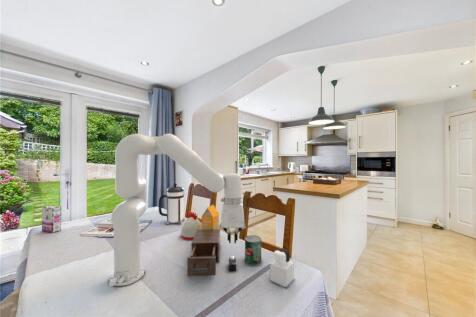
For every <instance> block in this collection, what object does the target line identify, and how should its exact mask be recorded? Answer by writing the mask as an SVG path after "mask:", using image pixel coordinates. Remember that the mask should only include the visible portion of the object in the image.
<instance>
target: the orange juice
mask: <svg viewBox="0 0 476 317" xmlns="http://www.w3.org/2000/svg"><path fill="white" fill-rule="evenodd" d="M219 215H220V214H219V211H218V210H217V208H216V207H215V205H214V204H211V205H210V206H208V207H207V208H206V209H205V210H204V213H203V214H202V215H201V223H202V227H201V229H220V228H219V226H220V216H219Z"/></svg>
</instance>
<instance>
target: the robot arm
mask: <svg viewBox="0 0 476 317" xmlns="http://www.w3.org/2000/svg"><path fill="white" fill-rule="evenodd" d="M114 153H115V154H114V155H115V157H114V158H115V171H114V174H115V175H114V190H115V193H116V195H117V196H118V197H119V198H121V199H124V201H121V202H120V203H118V204H117V205H116V206H115V207H114V209H113V210H112V213H111V224H112V228H113V273H112V274H111V275H110V277H109V282H108V286H109V287H110V288H112V287H123V286H127V285H131V284H134V283H136V282H137V281H139V280H140V279H142V277H143V276H144V274H145V268H144V267H142V266H141V229H140V228H141V227H140V223H139V219H140V218H142V216H143V215H144V214H145V212H147V211H146V210H147V206H148V185H147V180H146V178H145V177H144V176H143V175H142V174H140V164H139V156H141V155H142V156H144V155H145V156H153V155H154V156H155V155H166V156H168V157H169V158H170V159H171V160H172V161H174V162H175V163H176V164H177V165H178V166H180V167H181V168H182V169H184V171H185V172H187V174H189V175H191V177H193V179H195V181H197V182H198V183H200V184H201V185H202V186H203V187H204V188H206V189H207V190H208V191H209V192H212V193H219V192H221V191H223V198H220V202H221V203H222V206H221V213H220V222H219V229H220V230H222V231H224V232H225V233H226V235H227V241H228V243H229V244H231V243H232V242H231V241H232V237H231V236H232V233H231V231H230V230H231V229H234V232H233V234H234V235H233V237H234V238H233V240H234V244H237V241H239V240H238V239H239V238H238V235H239V233H240V232H241V231H242V230H244V229H246V228H247V226H246V223H245V212H244V204H243V203H242V176H241V174H240V173H237V172H236V173H235V172H234V173H233V172H229V173H221V172H217V171H216V170H214V169H213V168H212V167H211V166H209V165H208V164H207V163H206V162H205V161H204V160H203V159H202V158H201V156H200V155H199V154H198V153H197V152H196V151H195V150H193V149H192V148H190V147H189V146H188V145H187V144H185V142H183V141H182V140H181V139H180V138H179V137H178V136H176V135H175V134H172V133H164V134H163V135H161V136H148V135H145V134H143V133H131V134H128V135H127V136H125V137H123V138H122V139H120V141H119V142H118V144H117V145H116V147H115V152H114Z"/></svg>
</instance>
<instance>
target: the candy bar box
mask: <svg viewBox="0 0 476 317" xmlns="http://www.w3.org/2000/svg"><path fill="white" fill-rule="evenodd" d="M61 218H62V206H60V205H45V206H42V207H41V231H42V232H46V233H52V234H53V233H56V232H60V231H62V229H61V228H62V219H61Z"/></svg>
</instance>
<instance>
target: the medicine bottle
mask: <svg viewBox="0 0 476 317" xmlns="http://www.w3.org/2000/svg"><path fill="white" fill-rule="evenodd" d="M290 255H291V253H290V252H289V250H287V249H285V248H277V249H275V250H274V256H273V257H274V258H273V259H274V260H273V261H271V262H270V263H269V281H270V282H273V283H275V284H277V285H279V286H281V287H283V288H287V287H288V286H289V285H290V284H291V283H292V282H293V281H294V278H295V277H294V276H295V275H294V274H295V273H294V271H295V268H294V267H295V266H294V265H295V264H294V261H292V260H291V258H290V257H291V256H290Z"/></svg>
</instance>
